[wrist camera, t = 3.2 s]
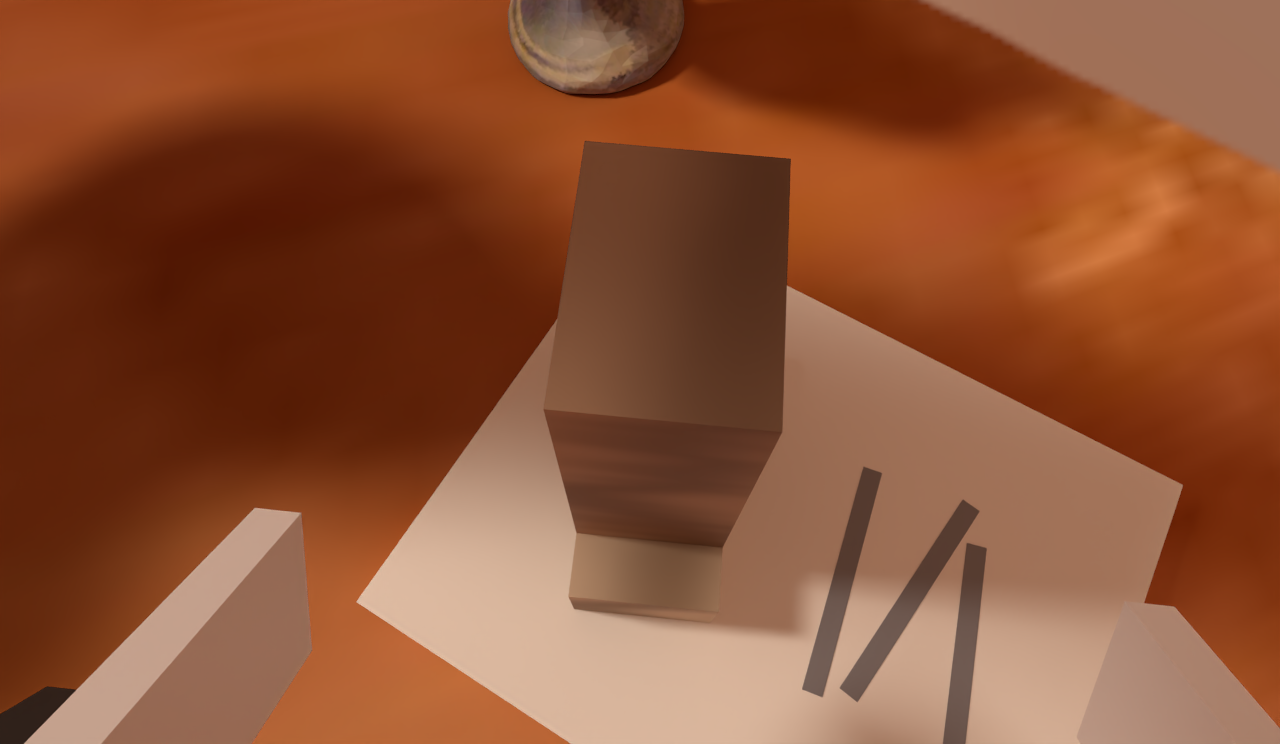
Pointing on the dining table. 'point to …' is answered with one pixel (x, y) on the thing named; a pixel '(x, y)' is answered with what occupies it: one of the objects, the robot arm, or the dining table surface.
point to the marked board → (807, 568)
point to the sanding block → (667, 368)
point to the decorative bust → (594, 41)
